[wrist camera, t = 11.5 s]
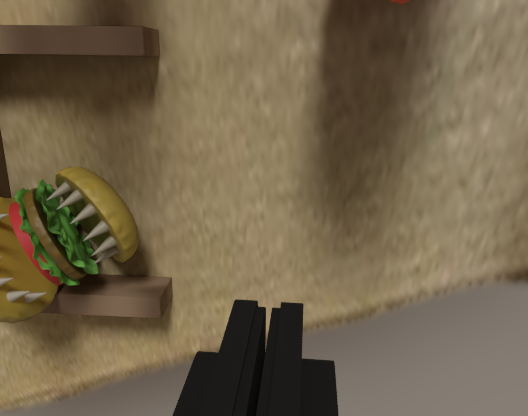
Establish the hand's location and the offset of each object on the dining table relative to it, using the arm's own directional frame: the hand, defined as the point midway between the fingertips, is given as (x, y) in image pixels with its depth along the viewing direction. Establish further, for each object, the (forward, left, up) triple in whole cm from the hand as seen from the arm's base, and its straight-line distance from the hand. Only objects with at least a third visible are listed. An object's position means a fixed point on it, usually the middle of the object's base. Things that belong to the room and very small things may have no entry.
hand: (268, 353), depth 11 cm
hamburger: (+10, +2, -18) cm, 20 cm away
